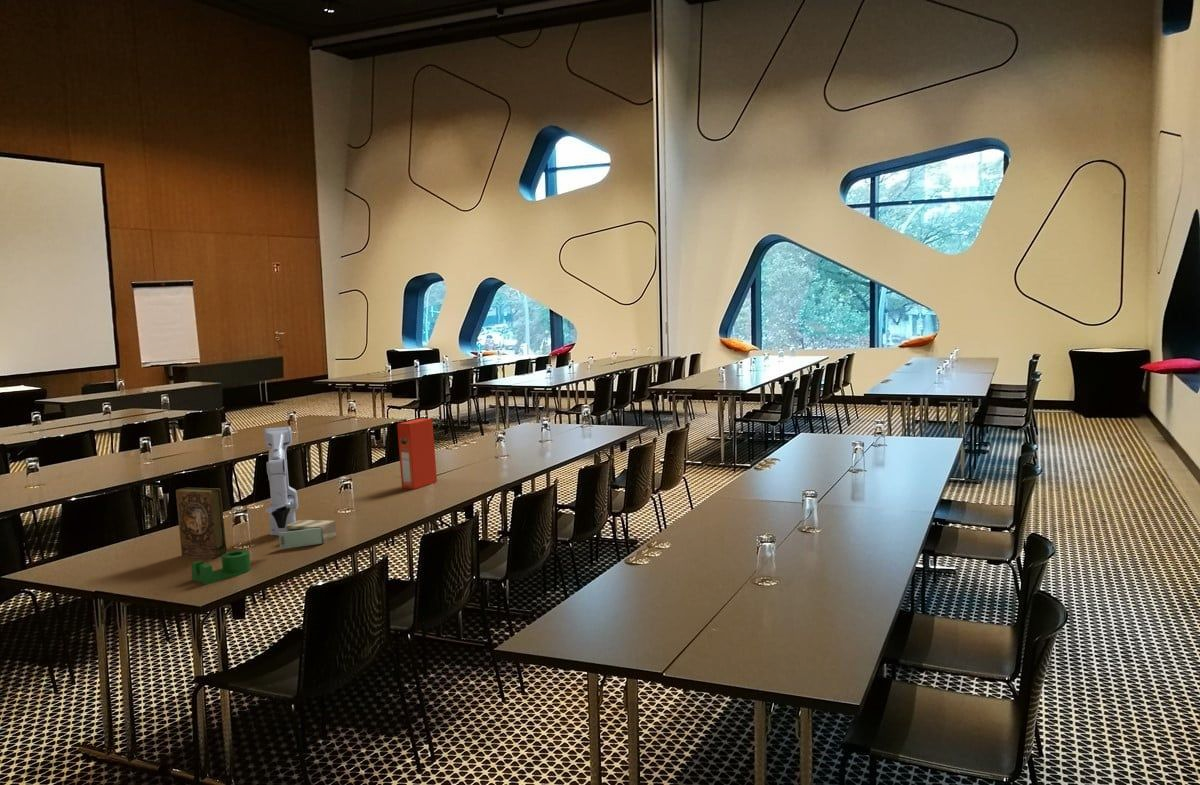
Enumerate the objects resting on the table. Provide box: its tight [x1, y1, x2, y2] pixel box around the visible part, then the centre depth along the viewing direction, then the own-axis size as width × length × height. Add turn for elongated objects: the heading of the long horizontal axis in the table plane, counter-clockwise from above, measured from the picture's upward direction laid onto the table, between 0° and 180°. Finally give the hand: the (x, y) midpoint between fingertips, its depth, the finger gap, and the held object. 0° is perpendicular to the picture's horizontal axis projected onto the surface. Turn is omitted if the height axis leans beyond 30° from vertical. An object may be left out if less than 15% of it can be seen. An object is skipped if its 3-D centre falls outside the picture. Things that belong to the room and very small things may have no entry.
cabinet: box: [286, 519, 337, 545], centre depth 343 cm, size 16×9×6 cm, turn 75°
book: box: [175, 487, 227, 559], centre depth 327 cm, size 16×6×25 cm, turn 74°
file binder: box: [396, 418, 438, 490], centre depth 434 cm, size 8×17×32 cm, turn 152°
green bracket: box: [190, 549, 252, 585], centre depth 303 cm, size 18×9×6 cm, turn 142°
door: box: [278, 527, 323, 550], centre depth 333 cm, size 16×2×6 cm, turn 110°
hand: (281, 527), depth 327 cm, fingers closed
